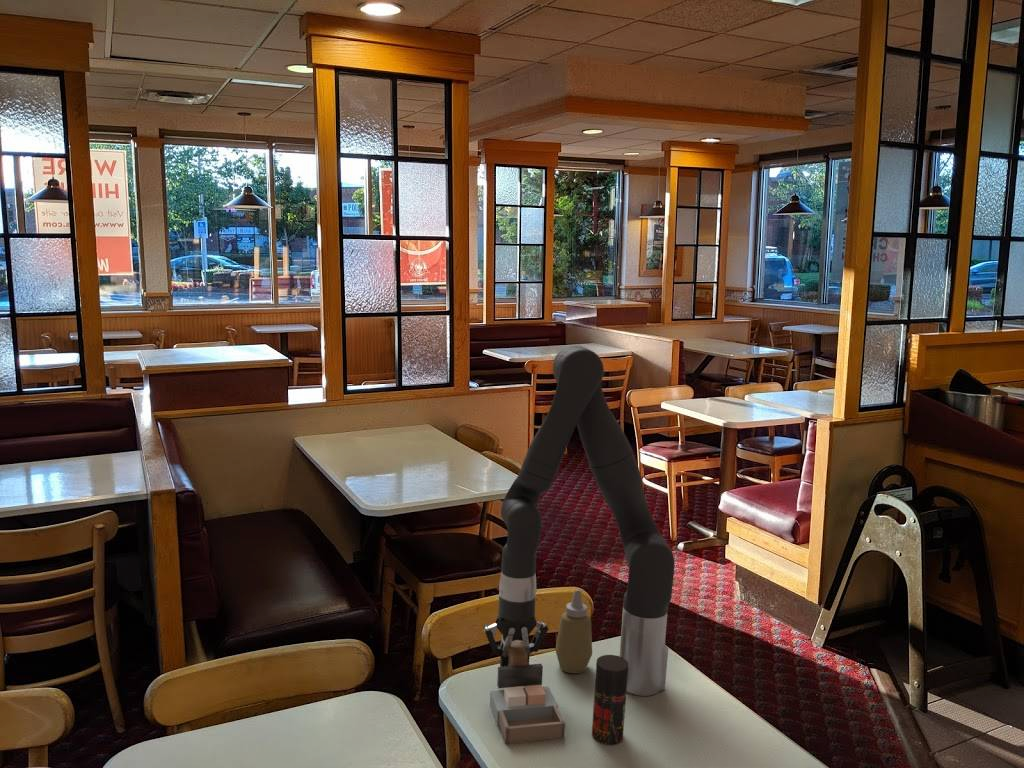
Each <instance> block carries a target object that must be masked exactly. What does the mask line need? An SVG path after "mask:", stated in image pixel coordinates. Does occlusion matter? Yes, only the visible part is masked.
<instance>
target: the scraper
mask: <svg viewBox="0 0 1024 768" xmlns="http://www.w3.org/2000/svg"><path fill="white" fill-rule="evenodd" d="M543 668H544V666H543V665H542V663H533V664H532V663H531V664H530V663H529V665H528V655H527V653H526V650H525V648H524V647H523V644H522V643H521V641H520V640H515V641H512V643H511V647H510V648H509V652H508V666H504V667H500V666H498V667H497V681H496V682H497V684H496V686H497V688H498V689H499V690H500V689H505V688H507V687H519V686H522V688H524V686H531V685H542V686H543V672H544V671H543V670H544V669H543Z"/></svg>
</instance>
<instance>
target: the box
mask: <svg viewBox="0 0 1024 768" xmlns="http://www.w3.org/2000/svg"><path fill="white" fill-rule="evenodd" d="M498 727H499V729H500V733H501V735H502V738H503V741H504V744H508V745H509V744H516V743H526V742H536V741H546V740H557V739H564V738H565V732H566V731H565V730H566V722H565V720H564V719H563V716H562V714H561V712H560V710H559V707H558V708H557V706H553V712H552V718H541V719H531V720H520V721H510V722H507V720H506V718H505V715H504V712H503V710H501V711H499V725H498Z"/></svg>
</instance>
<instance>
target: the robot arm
mask: <svg viewBox="0 0 1024 768" xmlns="http://www.w3.org/2000/svg"><path fill="white" fill-rule="evenodd" d="M604 370H605V369H604V364H603V361H602V359H601V358H600V356H599V355H598V354H597V352H595V351H593V350H592V349H589V348H587V347H584V346H581V345H568V346H564V347H563V348H562V349H560V350H559V351H558V352H557V354H556V355H555V357H554V358H553V363H552V374H553V377H554V379H555V381H556V389H555V392H554V397H553V400H552V402H551V406H550V408H549V410H548V411H547V414H546V417H545V418H544V420H543V421H542V424H541V425H540V427H539V428H538V430H537V432H536V433H535V435H534V437H533V438H532V441H531V442H530V445H529V446H528V448H527V452H526V454H525V457H524V459H523V462H522V465H521V467H520V469H519V473H518V475H517V476H516V477H515V480H514V481H513V483H512V484H511V486H510V488H509V489H508V491H507V493H506V494H505V496H504V498H503V501H502V502H501V503H502V504H501V507H500V515H501V519H502V521H503V523H504V524H505V526H506V527H507V540H506V543H505V545H504V546H503V548H502V551H501V552H502V553H501V570H500V577H499V578H500V579H499V585H498V586H499V590H498V591H499V592H498V609H497V611H498V612H497V613H498V615H497V618H496V620H495V622H494V623H492V624H490V625H489V624H484V626H483V631H484V633H485V635H486V639H487V640H488V643H489V645H490V647H491V651H492V652H493V654H494V655H495V656H500V657H499V667H504V666H508V652H509V648H510V647H511V643H512V641H515V640H520V641H521V643H522V644H523V647H524V648H525V650H526V653H527V655H528V665H530V655H531V654H532V653H537V652H538V651H539V650H540V648H541V646H542V643H543V642H544V640H545V638H546V635H547V633H548V632H549V631H548V630H549V627H548V625H547V623H546V621H544V620H542V621H538V620H537V619H536V597H537V576H536V572H537V571H536V569H537V550H538V548H539V545H540V539H541V534H542V529H543V519H542V518H543V517H542V515H541V511H540V510H539V508H538V507H537V504H538V501H539V500H540V498H541V495H542V494H543V493H546V492H548V491H549V490H550V489H551V488H552V485H553V483H554V480H555V478H556V475H557V473H558V470H559V468H560V465H561V463H562V460H563V458H564V455H565V453H566V449H567V447H568V445H569V443H570V441H571V438H572V436H573V433H574V431H575V429H576V427H577V431H578V433H579V437H580V441H581V444H582V448H583V449H584V453H585V457H586V459H587V462H588V465H589V467H590V470H591V473H592V475H593V477H594V480H595V483H596V485H597V487H598V489H599V491H600V493H601V495H602V497H603V500H604V501H605V502H606V505H607V506H608V507H609V510H610V511H611V514H613V515H612V516H613V518H614V520H615V523H616V525H617V529H618V532H619V535H620V541H621V545H622V549H623V551H624V552H623V553H624V556H625V560H626V562H627V566H628V579H627V589H626V591H625V593H624V595H623V603H622V615H621V617H622V618H621V629H620V630H621V631H620V632H621V633H620V646H619V656H620V657H622V658H624V659H625V660H626V661H627V662H628V677H627V691H626V693H629V694H632V695H636V696H640V697H641V696H642V697H646V696H647V697H649V696H652V695H653V696H654V695H655V694H658V693H659V692H660V691H665V690H666V680H667V670H668V658H669V656H668V655H669V647H668V646H667V645H666V635H667V624H668V623H667V622H668V610H669V605H670V602H671V599H672V596H673V595H672V594H673V585H674V577H675V557H674V554H673V551H672V550H671V547H670V545H669V544H668V542H667V541H666V539H665V538H664V537H663V535H662V534H661V532H660V529H659V528H658V526H657V524H656V522H655V519H654V517H653V516H652V514H651V513H652V512H650V509H649V506H648V504H647V501H646V500H647V499H646V494H645V489H644V488H645V487H644V484H643V483H644V482H643V478H642V474H641V471H640V468H639V465H638V461H637V459H636V456H635V454H634V451H633V448H632V446H631V443H630V442H629V440H628V438H627V436H626V434H625V432H624V431H623V428H622V427H621V425H620V424H619V422H618V420H617V419H616V417H615V415H614V414H613V412H612V410H611V408H610V407H609V405H608V402H607V400H606V398H605V395H604V394H605V393H604V391H603V389H602V388H603V387H602V385H601V382H602V380H603V378H604V374H605V371H604ZM534 629H535V633H534V635H533V637H532V639H531V641H530V640H529V636H530V634H531V633H532V632H533V630H534ZM497 630H498V631H499V633H500V634H501V642H500V645H497V642H496V639H495V638H494V637H495V636H496V635H497ZM529 641H530V642H529Z"/></svg>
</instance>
